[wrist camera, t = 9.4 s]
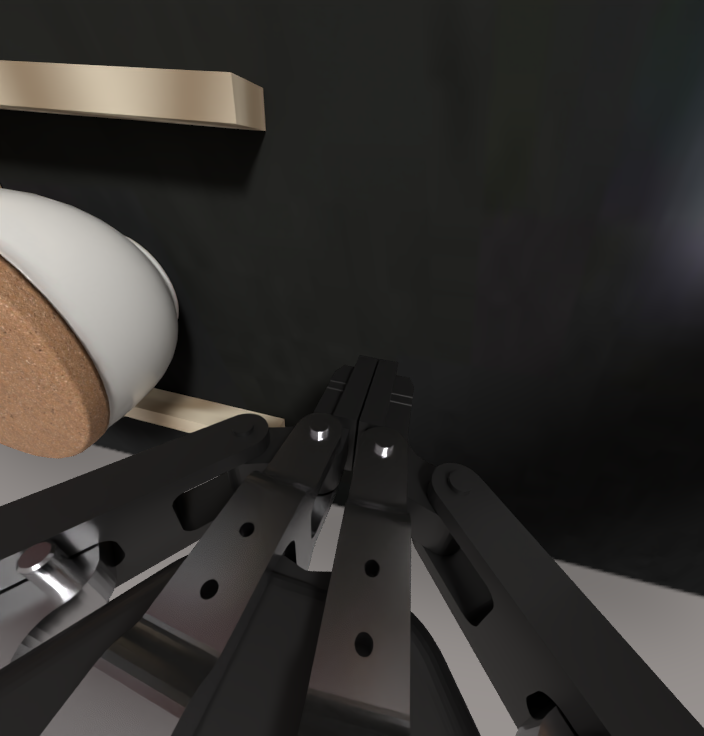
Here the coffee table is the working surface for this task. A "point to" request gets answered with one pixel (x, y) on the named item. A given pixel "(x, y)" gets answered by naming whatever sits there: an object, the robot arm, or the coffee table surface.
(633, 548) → the coffee table surface
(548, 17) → the coffee table surface
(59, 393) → the lidded jar
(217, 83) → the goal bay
